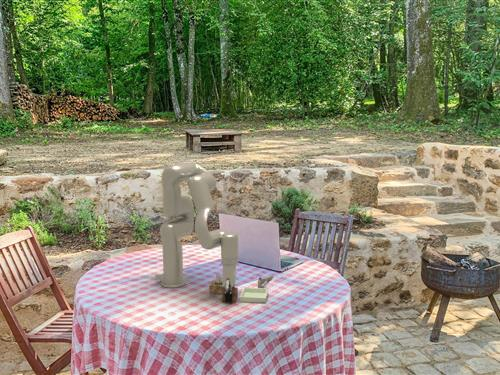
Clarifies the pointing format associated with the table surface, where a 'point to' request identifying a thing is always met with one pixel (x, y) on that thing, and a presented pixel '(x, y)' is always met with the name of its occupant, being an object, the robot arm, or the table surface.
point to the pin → (218, 279)
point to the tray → (254, 295)
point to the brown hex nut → (215, 288)
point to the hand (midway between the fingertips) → (230, 298)
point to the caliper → (263, 280)
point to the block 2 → (234, 295)
